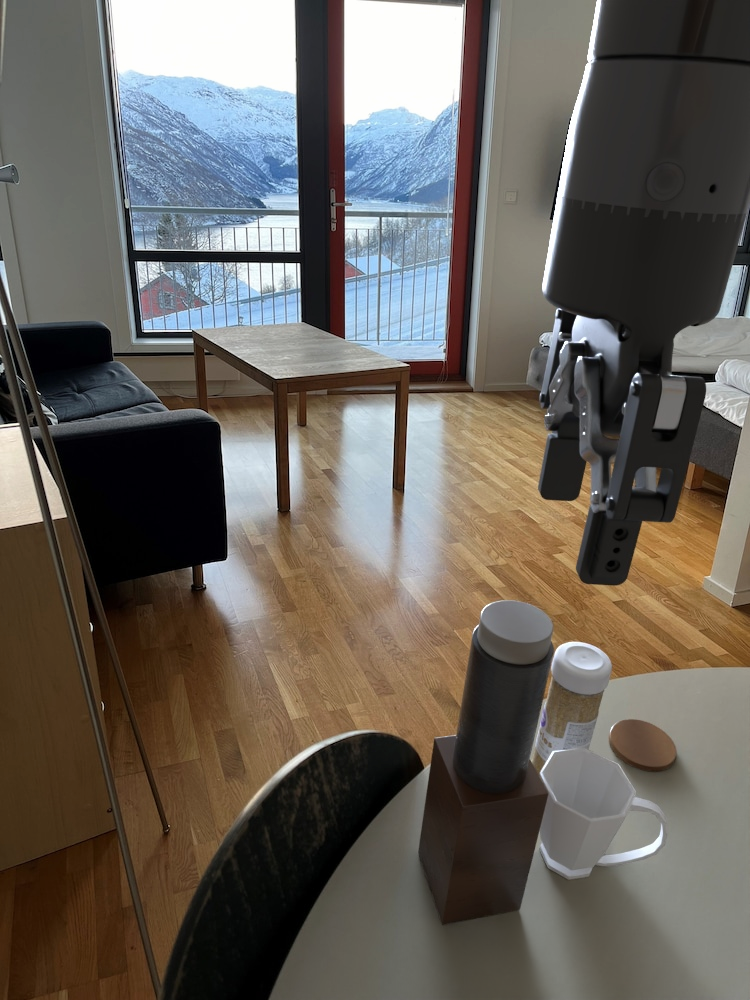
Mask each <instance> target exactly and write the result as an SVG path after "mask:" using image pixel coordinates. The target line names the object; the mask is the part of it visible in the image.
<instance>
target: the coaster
mask: <svg viewBox="0 0 750 1000" xmlns="http://www.w3.org/2000/svg"><path fill="white" fill-rule="evenodd" d="M608 742H609V745H610V748H611V749H612V751H613V753H614V754H615V755H616V756H617V757H618V758H619V759H620V760H621V761H623V762H624V763H625V764H628V765H629V766H631V767H633V768H636V769H638V770H641V771H646V772H662V771H665V770H668V769H669V768H671V767H672V766H673V764H674V763H675V760H676V758H677V753H678V752H677V747H676V744H675V742H674V740H673V739H672V737H671V736H670V735H669V734H667V732H665V731H664V730H663V729H662V728H660V727H658V726H657V725H655V724H653V723H650V722H647V721H645V720H641V719H637V718H636V719H634V718H626V719H621V720H619V721H617V722H616V723H614V724H613V725H612V726H611V728H610V730H609V734H608Z"/></svg>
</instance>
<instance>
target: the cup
mask: <svg viewBox="0 0 750 1000" xmlns="http://www.w3.org/2000/svg"><path fill="white" fill-rule="evenodd" d="M539 777H540V779H541V780H542V782H543V784H544V786H545V788H546V789H547V791H548V793H549V794H548V798H547V802H546V806H545V810H544V814H543V818H542V822H541V826H540V831H539V837H540V841H541V843H540V845H539V848H538V850H539V852H540V854H541V856H542V858H543V861H544V863H545V865H546V868H547V869H549V870H550V871H552V872H554V873H555V874H558V875H559V876H561V877H563V878H564V879H567V880H569V881H570V880H576V879H583V878H589V877H590V876H591V873H592V870H593V868H594V867H595V866H601V867H612V866H613V867H615V866H622V865H627V864H632V863H635V862H640V861H643V860H647V859H649V858H651V857H653V856H656V855H657V854H659V853H660V851H661V850H663V848H664V847H665V845H666V841H667V838H668V830H667V829H668V828H667V821H666V815H665V813H664V812H663V810H661V808H660V807H659V805H658V804H656V803H655V802H652V801H651V800H649V799H644V798H640V797H636V794H637V791H636V789H635V788H634V787H635V786H633V784H632V783H631V781H630V780H629V778H628V776H627V775H626V773H625V771H624V769H623V768H622V767H621V765H620V764H619V763H617V762H615V761H613V760H612V759H609V758H607V757H604V756H603V755H601V754H599V753H597V752H594V751H592V750H590V749H589V750H588V749H586V748H578V749H569V750H560V751H553V752H552V753H551V755H550V757H549V758H548V760H547V762H546V763H545V765H544V767H543V768H542V770H541V772H540V776H539ZM629 812H645V813H650V814H652V815H654V816H655V818H656V819H657V820H658V821H659V822H660V831H659V836H658V837H657V838H656V839H655V840H654V841H653V842H652V843H651V844H647V845H646V846H643V847H641V848H637V849H633V850H629V851H625V852H620V853H613V854H605V853H606V852H607V850H608V848H609V847H610V845H611V843H612V841H613V840H614V838H615V836H616V835H617V833H618V832H619V829H621V826H622V824H623V823H624V820H626V817H627V815H628V813H629Z"/></svg>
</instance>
